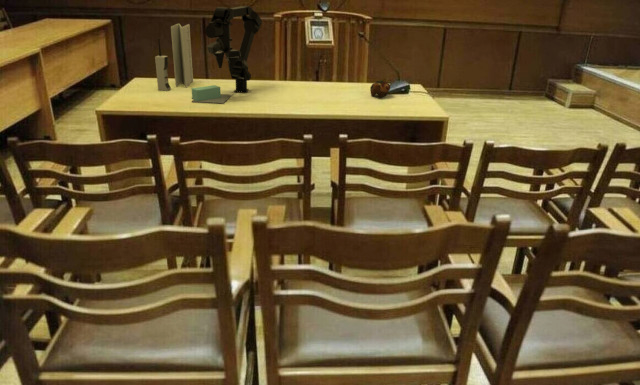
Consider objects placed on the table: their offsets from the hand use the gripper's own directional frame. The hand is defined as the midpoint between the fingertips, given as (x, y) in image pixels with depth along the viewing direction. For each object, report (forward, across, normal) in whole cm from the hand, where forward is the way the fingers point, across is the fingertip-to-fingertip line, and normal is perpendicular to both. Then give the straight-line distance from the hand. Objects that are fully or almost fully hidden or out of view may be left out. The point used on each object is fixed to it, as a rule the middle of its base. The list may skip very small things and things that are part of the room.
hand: (225, 69), depth 240 cm
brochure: (+13, -33, -5) cm, 36 cm away
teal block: (+10, 0, -5) cm, 11 cm away
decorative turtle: (+13, +42, +66) cm, 79 cm away
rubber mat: (+13, +1, -8) cm, 15 cm away
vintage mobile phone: (+13, -28, -19) cm, 36 cm away
